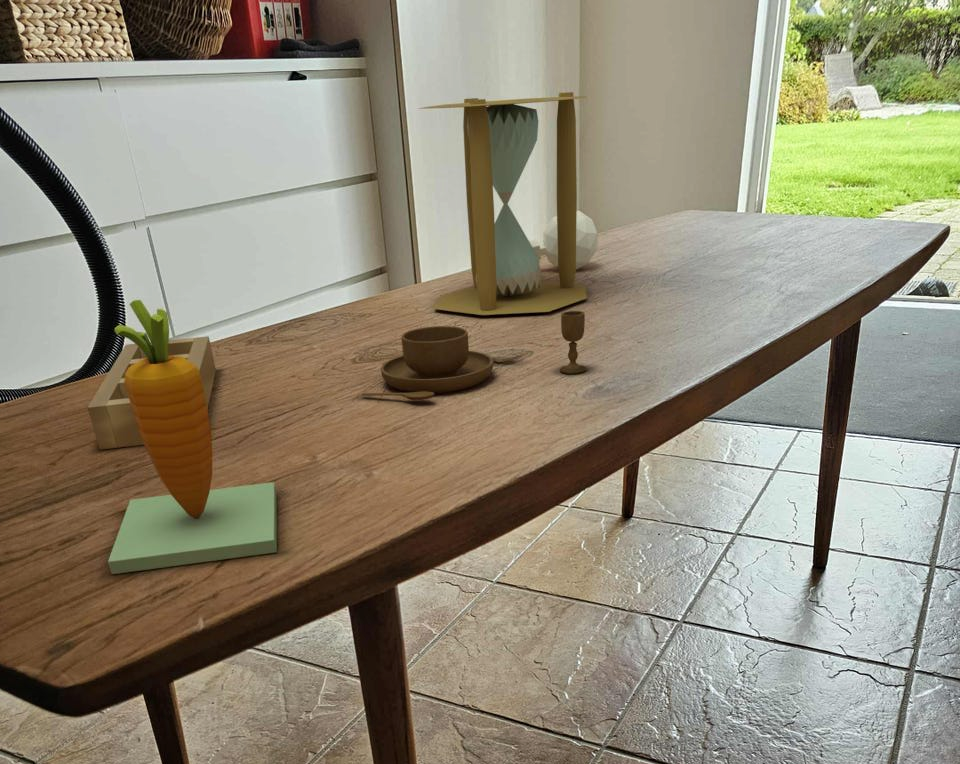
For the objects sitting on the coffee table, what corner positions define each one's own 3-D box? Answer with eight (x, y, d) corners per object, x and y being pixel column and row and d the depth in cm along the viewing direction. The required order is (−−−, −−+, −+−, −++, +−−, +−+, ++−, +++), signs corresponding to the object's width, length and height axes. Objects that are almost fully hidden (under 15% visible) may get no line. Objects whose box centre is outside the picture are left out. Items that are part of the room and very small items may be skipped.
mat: (111, 574, 60) (107, 561, 60) (133, 511, 70) (129, 499, 69) (276, 552, 62) (274, 539, 61) (276, 493, 71) (274, 481, 70)
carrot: (229, 527, 63) (179, 306, 55) (157, 536, 63) (96, 313, 55) (233, 501, 68) (188, 291, 60) (166, 508, 67) (111, 298, 59)
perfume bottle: (593, 249, 151) (523, 264, 151) (590, 194, 144) (517, 210, 144) (605, 274, 145) (532, 290, 146) (603, 219, 138) (527, 235, 139)
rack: (99, 450, 83) (87, 407, 80) (134, 380, 103) (125, 344, 101) (201, 438, 84) (192, 395, 82) (216, 371, 104) (208, 336, 102)
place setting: (430, 355, 105) (425, 302, 102) (591, 366, 97) (592, 309, 94) (347, 398, 92) (339, 339, 89) (526, 416, 84) (525, 352, 81)
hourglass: (469, 283, 142) (459, 98, 129) (608, 284, 134) (611, 89, 121) (406, 316, 123) (385, 105, 110) (562, 321, 116) (560, 94, 103)
